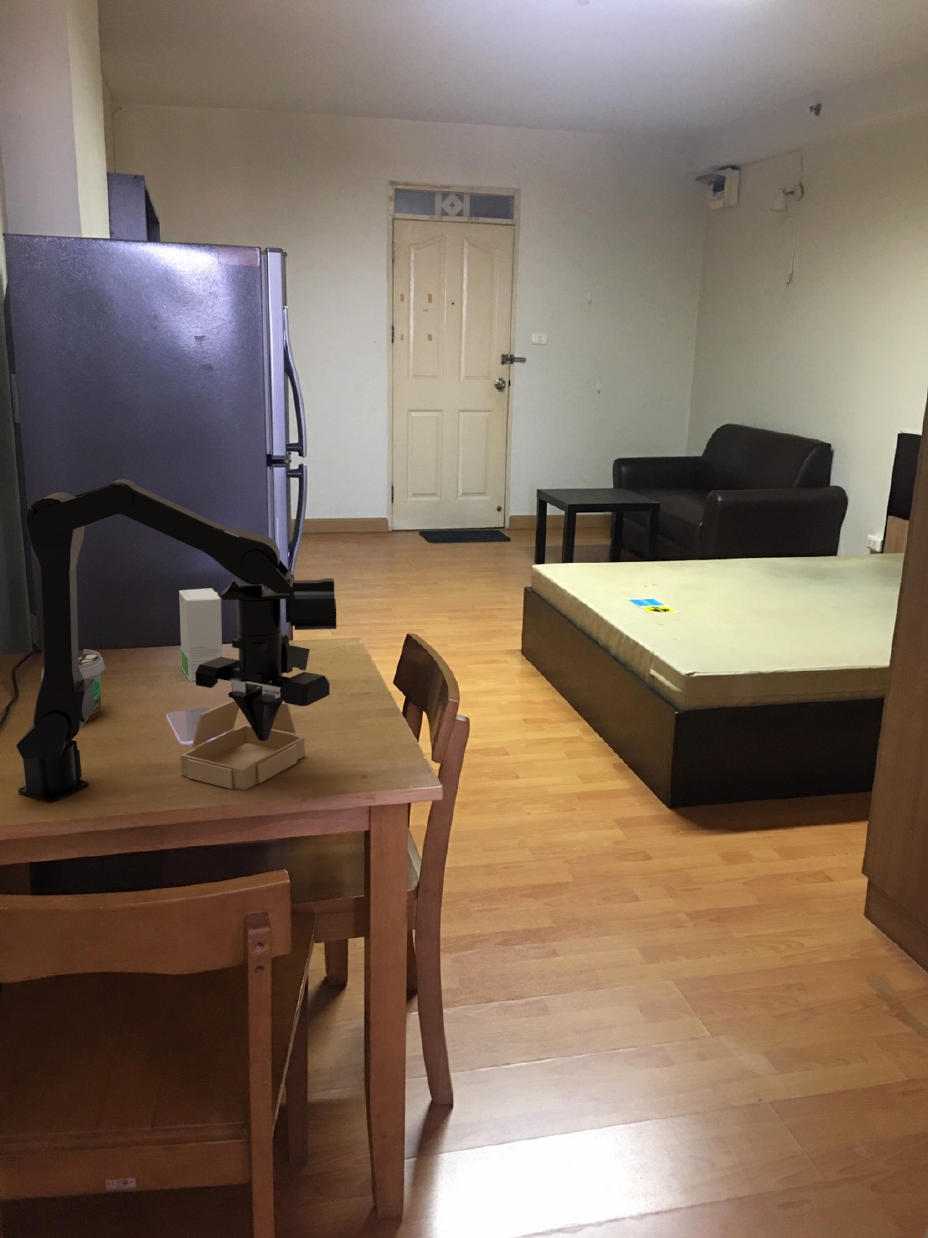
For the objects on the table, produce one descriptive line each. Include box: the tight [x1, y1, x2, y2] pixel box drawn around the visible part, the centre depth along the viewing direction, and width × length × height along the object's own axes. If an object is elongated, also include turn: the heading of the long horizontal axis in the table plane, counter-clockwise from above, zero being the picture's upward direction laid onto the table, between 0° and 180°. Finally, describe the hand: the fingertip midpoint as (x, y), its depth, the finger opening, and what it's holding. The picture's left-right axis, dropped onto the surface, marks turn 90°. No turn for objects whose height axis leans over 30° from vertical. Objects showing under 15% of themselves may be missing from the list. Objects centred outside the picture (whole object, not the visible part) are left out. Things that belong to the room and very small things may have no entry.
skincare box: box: [178, 587, 223, 682], centre depth 180 cm, size 8×7×16 cm
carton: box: [180, 724, 306, 792], centre depth 139 cm, size 15×12×3 cm
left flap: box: [191, 699, 240, 748], centre depth 140 cm, size 9×1×6 cm, turn 153°
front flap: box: [271, 701, 297, 735], centre depth 144 cm, size 1×8×6 cm, turn 63°
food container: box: [40, 648, 106, 725], centre depth 156 cm, size 12×6×10 cm, turn 168°
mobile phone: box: [165, 707, 228, 746], centre depth 155 cm, size 8×1×15 cm
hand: (263, 740), depth 133 cm, fingers closed
